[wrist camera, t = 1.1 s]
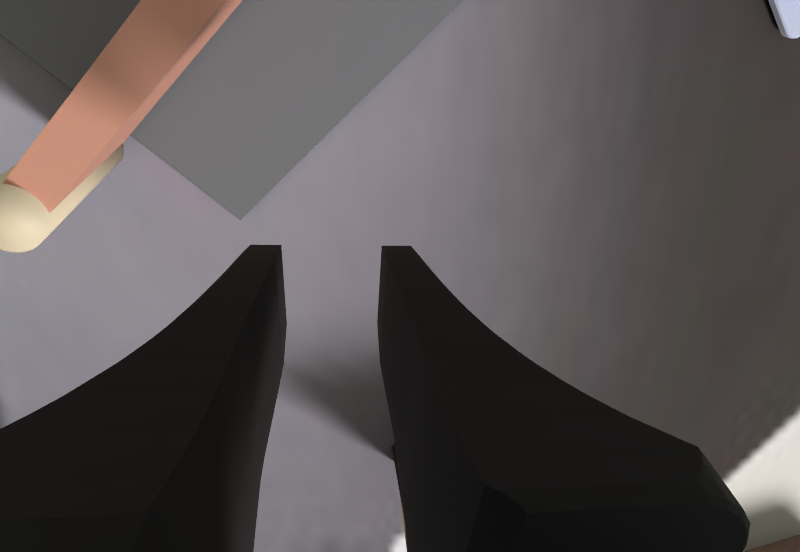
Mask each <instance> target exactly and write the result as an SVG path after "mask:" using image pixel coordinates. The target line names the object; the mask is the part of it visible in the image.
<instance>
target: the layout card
mask: <svg viewBox="0 0 800 552" xmlns="http://www.w3.org/2000/svg"><path fill="white" fill-rule="evenodd" d="M140 1H141V0H0V35H1V36H3V37H4V38H5V39H7V40H8V41H9V42H10V43H12V44H13V45H14V46H16V47H17V48H18V49H20V50H21V51H22V52H23V53H25V54H26V55H27V56H29V57H30V58H31V59H32V60H34V61H35V62H36V63H38V64H39V65H40V66H41V67H43V68H44V69H45V70H47V71H48V72H49V73H51V74H52V75H53V76H54V77H56V78H57V79H58V80H60V81H61V82H62V83H63V84H65V85H66V86H67V87H69V88H70V89H71V90H73V89H74V88H75V87H76V86H77V84H78V83H79V82H80V80H81V79H82V78H83V76H84V75H85V74H86V72H87V71H88V70H89V68H90V67H91V66H92V64H93V63H94V62H95V60H96V59H97V58H98V56H99V55H100V54H101V52H102V51H103V50H104V48H105V47H106V46H107V44H108V43H109V42H110V41H111V39H112V38H113V37H114V35H115V34H116V33H117V31H118V30H119V29H120V27H121V26H122V25H123V23H124V22H125V21H126V19H127V18H128V17H129V15H130V14H131V13H132V11H133V10H134V9H135V7H136V6H137V5H138V3H139V2H140ZM462 1H463V0H242V1H241V3H240V4H239V5H238V6H237V7H236V9H235V10H234V11H233V12H232V13H231V15H230V16H229V17H228V18H227V19H226V21H225V22H224V23H223V24H222V25H221V27H220V28H219V29H218V30H217V31H216V33H215V34H214V35H213V36H212V37H211V38H210V40H209V41H208V42H207V43H206V44H205V46H204V47H203V48H202V49H201V50H200V52H199V53H198V54H197V55H196V56H195V58H194V59H193V60H192V61H191V62H190V64H189V65H188V66H187V67H186V68H185V70H184V71H183V72H182V73H181V74H180V76H179V77H178V78H177V79H176V80H175V82H174V83H173V84H172V85H171V86H170V87H169V89H168V90H167V91H166V92H165V93H164V95H163V96H162V97H161V98H160V99H159V101H158V102H157V103H156V104H155V105H154V107H153V108H152V109H151V110H150V111H149V113H148V114H147V115H146V116H145V117H144V119H143V120H142V121H141V122H140V123H139V125H138V126H137V127H136V128H135V129H134V131H133V132H132V133H131V134H130V135H131V136H132V137H133V138H135V139H136V140H137V141H139V142H140V143H141V144H142V145H144V146H145V147H146V148H148V149H149V150H150V151H151V152H153V153H154V154H155V155H157V156H158V157H159V158H161V159H162V160H163V161H164V162H166V163H167V164H168V165H170V166H171V167H172V168H173V169H175V170H176V171H177V172H179V173H180V174H181V175H182V176H184V177H185V178H186V179H188V180H189V181H190V182H192V183H193V184H194V185H195V186H197V187H198V188H199V189H201V190H202V191H203V192H204V193H206V194H207V195H208V196H210V197H211V198H212V199H214V200H215V201H216V202H217V203H219V204H220V205H221V206H223V207H224V208H225V209H226V210H228V211H229V212H230V213H232V214H233V215H234V216H236V217H237V218H238V219H239V220H241V219H242V218H243V217H244V216H245V215H246V214H247V213H248V212H249V211H250V210H251V209H252V208H253V207H254V206H255V205H256V204H257V203H258V202H259V201H260V200H261V199H262V198H263V197H264V196H265V195H266V194H267V193H268V192H269V191H270V190H271V189H272V188H273V187H274V186H275V185H276V184H277V183H278V182H279V181H280V180H281V179H282V178H283V177H284V176H285V175H286V174H287V173H288V172H289V171H290V170H291V169H292V168H293V167H294V166H295V165H296V164H297V163H298V162H300V161H301V160H302V159H303V158H304V157H305V156H306V155H307V154H308V153H309V152H310V151H311V150H312V149H313V148H314V147H315V146H316V145H317V144H318V143H319V142H320V141H321V140H322V139H323V138H324V137H325V136H326V135H327V134H328V133H329V132H330V131H331V130H332V129H333V128H334V127H335V126H336V125H337V124H338V123H339V122H340V121H341V120H342V119H343V118H344V117H345V116H346V115H347V114H348V113H349V112H350V111H351V110H352V109H353V108H354V107H355V106H356V105H357V104H358V103H359V102H360V101H361V100H362V99H363V98H364V97H365V96H366V95H367V94H368V93H369V92H370V91H371V90H372V89H373V88H374V87H376V86H377V85H378V84H379V83H380V82H381V81H382V80H383V79H384V78H385V77H386V76H387V75H388V74H389V73H390V72H391V71H392V70H393V69H394V68H395V67H396V66H397V65H398V64H399V63H400V62H401V61H402V60H403V59H404V58H405V57H406V56H407V55H408V54H409V53H410V52H411V51H412V50H413V49H414V48H415V47H416V46H417V45H418V44H419V43H420V42H421V41H422V40H423V39H424V38H425V37H426V36H427V35H428V34H429V33H430V32H431V31H432V30H433V29H434V28H435V27H436V26H437V25H438V24H439V23H440V22H441V21H442V20H443V19H444V18H445V17H446V16H447V15H448V14H449V13H450V12H451V11H453V10H454V9H455V8H456V7H457V6H458V5H459V4H460V3H461V2H462Z"/></svg>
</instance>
